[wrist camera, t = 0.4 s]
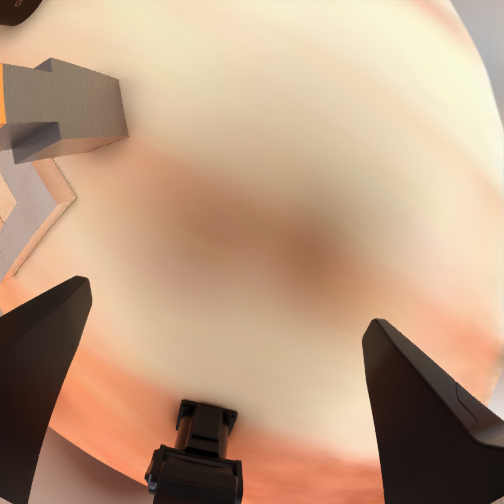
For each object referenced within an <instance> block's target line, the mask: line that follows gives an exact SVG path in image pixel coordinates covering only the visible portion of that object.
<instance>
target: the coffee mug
mask: <svg viewBox="0 0 504 504" xmlns="http://www.w3.org/2000/svg"><path fill="white" fill-rule="evenodd" d="M41 1H42V0H0V25H9V26H15V25H18V24H20V23H22V22H23V21H24V20H26V19H27V18H28V17H29V16H30V15H31V14H32V13H33V12H34V11H35V10H36V8H37V7H38V6H39V4H40V3H41Z"/></svg>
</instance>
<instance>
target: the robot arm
mask: <svg viewBox="0 0 504 504" xmlns="http://www.w3.org/2000/svg"><path fill="white" fill-rule="evenodd" d="M91 306H92V294H91V288H90V282H89V279H88V278H86V277H82V276H74V277H72V278H70V279H69V280H67V281H65V282H63V283H61V284H59V285H57V286H55V287H53V288H51V289H50V290H48V291H46V292H44V293H42V294H40V295H39V296H37V297H35V298H33V299H31V300H29V301H28V302H26V303H24V304H22V305H20V306H19V307H17V308H15V309H13V310H12V311H10V312H8V313H6V314H5V315H3V316H1V317H0V497H1V498H3V499H5V500H7V501H9V502H10V503H12V504H28V500H29V495H30V491H31V486H32V482H33V477H34V473H35V469H36V465H37V462H38V458H39V456H38V455H39V453H40V450H41V447H42V443H43V440H44V436H45V433H46V430H47V427H48V424H49V421H50V418H51V415H52V412H53V409H54V406H55V403H56V401H57V398H58V395H59V392H60V390H61V387H62V385H63V382H64V379H65V377H66V374H67V372H68V369H69V367H70V364H71V362H72V360H73V357H74V355H75V352H76V350H77V348H78V345H79V342H80V339H81V336H82V333H83V330H84V327H85V324H86V321H87V318H88V315H89V312H90V309H91ZM362 347H363V356H364V365H365V375H366V383H367V389H368V394H369V399H370V404H371V409H372V415H373V420H374V426H375V432H376V438H377V444H378V451H379V458H380V465H381V473H382V481H383V489H384V500H385V504H504V421H503V420H502V419H501V418H500V417H498V416H497V415H496V414H494V413H493V412H492V411H491V410H489V409H488V408H487V407H486V406H484V405H483V404H482V403H481V402H479V401H478V400H477V399H476V398H475V397H473V396H472V395H471V394H470V393H469V392H468V391H466V390H465V389H464V388H463V387H462V386H461V385H460V384H459V383H458V382H455V380H454V379H453V378H452V377H451V376H450V375H449V374H447V373H446V372H445V371H444V370H443V369H442V368H441V367H440V366H438V365H437V364H436V363H435V362H434V361H433V360H432V359H431V358H429V357H428V356H427V355H426V354H425V353H424V352H423V351H421V350H420V349H419V348H418V347H417V346H416V345H414V344H413V343H412V342H411V341H410V340H409V339H408V338H406V337H405V336H404V335H403V334H402V333H401V332H399V331H398V330H397V329H396V328H395V327H394V326H392V325H391V324H390V323H389V322H388V321H386V320H385V319H378V318H375V319H373V320H372V321H371V323H370V324H369V326H368V328H367V330H366V332H365V334H364V335H363V338H362ZM236 419H237V413H236V412H234V411H229V410H224V409H219V408H215V407H210V406H206V405H202V404H198V403H194V402H190V401H186V400H183V401H181V404H180V410H179V415H178V420H177V425H176V430H177V431H178V434H177V438H176V443H175V447H174V448H171V447H167V446H166V445H163V444H161V446H160V449H158V450H154V453H153V457H152V460H151V463H150V465H149V467H148V469H147V472H146V474H145V478H144V479H145V480H146V482H147V483H148V487H149V494H152V495H155V496H154V501H153V504H241V501H242V496H243V476H242V462H241V461H240V460H236V461H235V460H229V459H226V453H227V442H228V437H229V434H230V432H231V430H232V428H233V426H234V423H235V421H236Z"/></svg>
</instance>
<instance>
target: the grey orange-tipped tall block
mask: <svg viewBox="0 0 504 504" xmlns="http://www.w3.org/2000/svg"><path fill="white" fill-rule="evenodd" d="M126 137H129V135H128V130H127V125H126V121H125V116H124V110H123V105H122V100H121V94H120V88H119V83H118V79H115V78H113V77H110V76H107V75H104V74H101V73H98V72H96V71H93V70H90V69H87V68H84V67H80V66H77V65H74V64H71V63H68V62H64V61H61V60H58V59H54V58H49V59H48V60H46V61H45V62H43V63H42V64H40V65H38V66H37V67H35V68H34V69H32V68H27V67H21V66H15V65H9V64H2V63H0V151H4V150H10V149H12V153H13V158H14V163H15V165H17V164H22V163H26V162H31V161H36V160H42V159H47V158H52V157H58V156H64V155H71V154H77V153H84V152H89V151H92V150H94V149H97V148H99V147H102V146H104V145H107V144H110V143H112V142H115V141H118V140H120V139H123V138H126Z"/></svg>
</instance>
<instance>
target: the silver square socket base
mask: <svg viewBox="0 0 504 504" xmlns="http://www.w3.org/2000/svg"><path fill="white" fill-rule="evenodd" d="M0 172H1V174H2V176H3V178H4V180H5V182H6V184H7V185H8V187H9V189H10V191H11V193H12V194H13V196H14V198H15V200H16V201H17V204H16V206H15V207H14V209H13V210H12V212H11V213H10V215H9V217H8V218H7V220H6V221H5V223H3V221H2V220H1V218H0V285H2V284H3V283H4V282H6V281H7V280H8V279H10V278H11V277H13V276H14V274H15V273H16V272H17V270H18V269H19V267H20V266H21V265H22V263H23V262H24V260H25V259H26V258H27V256H28V255H29V254H30V252H31V251H32V250H33V248H34V247H35V246H36V245H37V243H38V242H39V241H40V240H41V238H42V237H43V236H44V235H45V233H46V232H47V231H48V230H49V228H50V227H51V226H52V225H53V224H54V222H55V221H56V220H57V219H58V218H59V217H60V215H61V214H62V213H63V212H64V211H65V210H66V209H67V208H68V206H69V205H70V204H71V203H72V202H73V201H74V200H75V199H76V198H77V196H76V195H75V193H74V192H73V190H72V189H71V187H70V186H69V184H68V183H67V181H66V180H65V178H64V177H63V175H62V174H61V172H60V170H59V169H58V167H57V166H56V164H55V163H54V161H53V159H52V158H47V159H42V160H36V161H31V162H26V163H22V164H17V165H15V163H14V158H13V153H12V149H10V150H4V151H0Z"/></svg>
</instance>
